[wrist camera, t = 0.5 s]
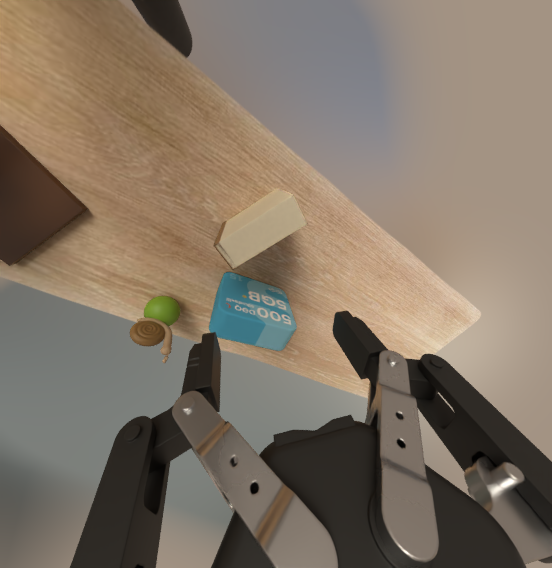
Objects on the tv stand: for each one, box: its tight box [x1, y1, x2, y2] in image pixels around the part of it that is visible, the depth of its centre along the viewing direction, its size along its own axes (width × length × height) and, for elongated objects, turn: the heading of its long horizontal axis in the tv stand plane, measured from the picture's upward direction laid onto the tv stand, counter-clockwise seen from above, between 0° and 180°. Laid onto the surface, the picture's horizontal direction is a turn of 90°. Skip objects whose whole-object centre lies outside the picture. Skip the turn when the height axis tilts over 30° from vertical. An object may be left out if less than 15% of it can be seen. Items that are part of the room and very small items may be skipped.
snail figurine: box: [130, 296, 180, 363], centre depth 32 cm, size 5×6×12 cm
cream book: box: [214, 188, 307, 270], centre depth 27 cm, size 4×10×11 cm, turn 120°
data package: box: [209, 272, 297, 351], centre depth 33 cm, size 12×4×12 cm, turn 65°
